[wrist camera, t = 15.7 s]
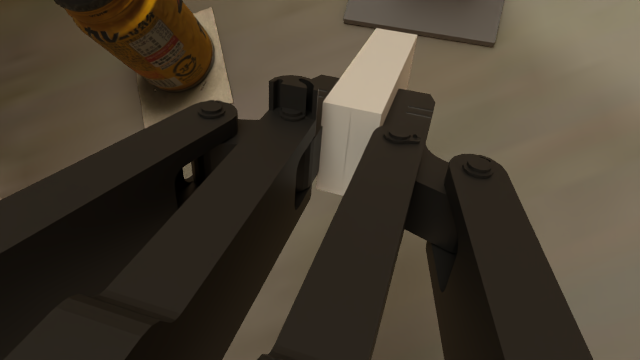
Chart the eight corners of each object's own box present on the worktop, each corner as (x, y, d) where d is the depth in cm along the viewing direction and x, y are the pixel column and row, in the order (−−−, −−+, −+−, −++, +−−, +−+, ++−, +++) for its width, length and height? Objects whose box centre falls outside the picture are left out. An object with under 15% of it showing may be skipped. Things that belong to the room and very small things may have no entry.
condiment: (212, 8, 37) (128, -111, 25) (234, 103, 35) (153, 21, 24) (130, 36, 38) (12, -67, 26) (147, 130, 36) (27, 64, 24)
